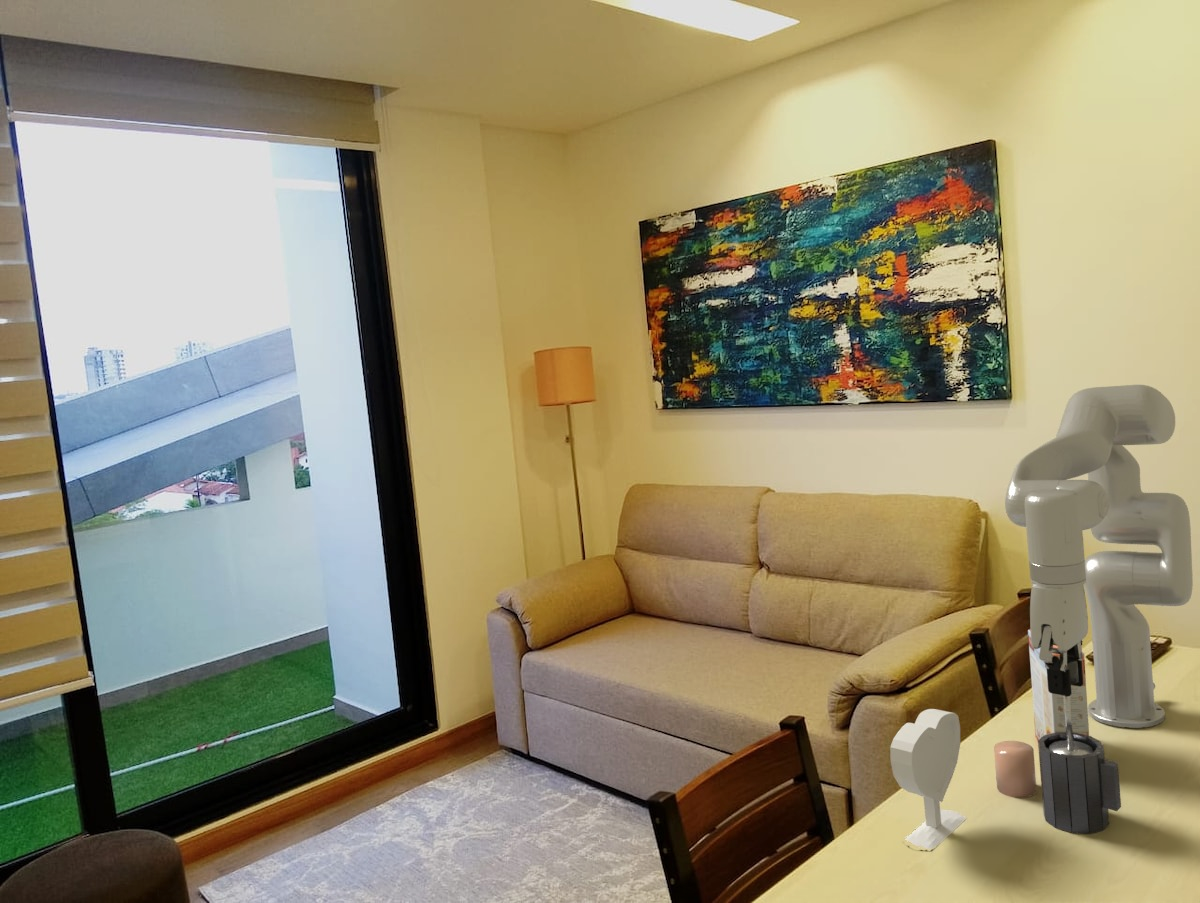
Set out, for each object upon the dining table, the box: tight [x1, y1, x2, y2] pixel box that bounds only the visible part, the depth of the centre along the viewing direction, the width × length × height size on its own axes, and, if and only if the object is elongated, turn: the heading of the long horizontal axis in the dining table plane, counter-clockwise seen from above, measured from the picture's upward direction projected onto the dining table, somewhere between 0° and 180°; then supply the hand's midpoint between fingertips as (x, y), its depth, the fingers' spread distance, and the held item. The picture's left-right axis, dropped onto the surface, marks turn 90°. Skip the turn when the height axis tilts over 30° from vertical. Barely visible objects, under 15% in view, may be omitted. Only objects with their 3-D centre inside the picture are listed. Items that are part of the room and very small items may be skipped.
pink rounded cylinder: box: [993, 740, 1037, 799], centre depth 153 cm, size 6×6×7 cm
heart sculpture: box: [889, 708, 967, 850], centre depth 144 cm, size 16×5×18 cm, turn 133°
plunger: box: [1049, 657, 1093, 755], centre depth 141 cm, size 6×6×15 cm
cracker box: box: [1027, 629, 1090, 741], centre depth 162 cm, size 14×6×21 cm, turn 168°
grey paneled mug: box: [1037, 732, 1122, 835], centre depth 141 cm, size 9×11×12 cm
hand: (1066, 688), depth 141 cm, fingers closed on plunger, 3 cm apart
